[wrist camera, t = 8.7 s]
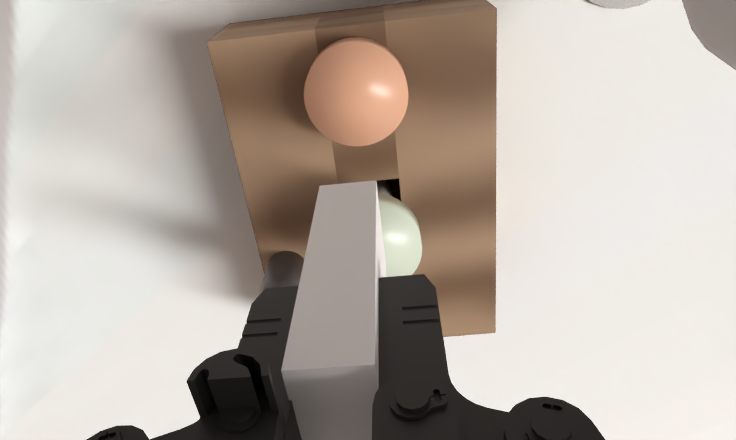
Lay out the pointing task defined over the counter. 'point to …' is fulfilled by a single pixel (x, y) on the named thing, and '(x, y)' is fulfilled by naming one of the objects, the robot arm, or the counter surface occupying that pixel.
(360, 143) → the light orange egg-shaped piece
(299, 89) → the brown wooden holder block
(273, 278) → the gray rod
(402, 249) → the knob mid
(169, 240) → the counter surface
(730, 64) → the wineglass
